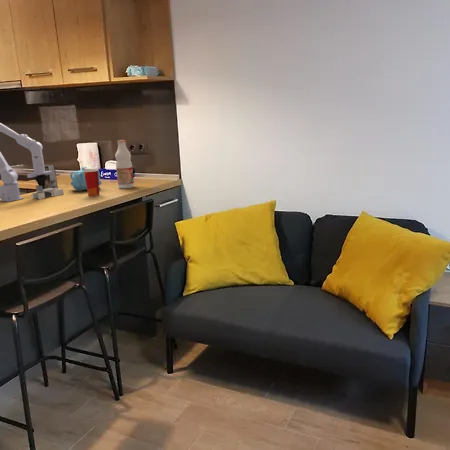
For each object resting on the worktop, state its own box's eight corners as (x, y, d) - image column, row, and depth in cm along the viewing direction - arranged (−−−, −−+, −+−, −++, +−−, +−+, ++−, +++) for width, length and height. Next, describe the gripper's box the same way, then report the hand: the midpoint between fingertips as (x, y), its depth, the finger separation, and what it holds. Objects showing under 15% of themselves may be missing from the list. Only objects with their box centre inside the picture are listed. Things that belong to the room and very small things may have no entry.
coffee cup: (95, 193, 264) (92, 167, 260) (104, 194, 259) (101, 167, 255) (83, 195, 258) (79, 169, 254) (91, 197, 253) (88, 169, 249)
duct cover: (41, 192, 255) (41, 186, 254) (36, 191, 258) (35, 185, 257) (55, 189, 262) (54, 183, 261) (50, 189, 265) (49, 183, 264)
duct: (39, 199, 254) (38, 193, 253) (32, 198, 257) (32, 193, 256) (63, 194, 267) (63, 188, 266) (57, 193, 270) (56, 188, 269)
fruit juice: (116, 187, 281) (111, 140, 274) (130, 185, 286) (126, 139, 279) (121, 189, 273) (116, 141, 266) (136, 187, 278) (132, 139, 271)
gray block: (45, 198, 258) (44, 193, 258) (41, 197, 261) (41, 193, 260) (51, 196, 261) (51, 192, 261) (48, 196, 264) (47, 192, 263)
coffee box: (58, 191, 277) (55, 164, 273) (52, 193, 271) (48, 166, 267) (45, 191, 280) (42, 164, 276) (39, 193, 274) (34, 166, 270)
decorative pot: (103, 189, 275) (101, 166, 272) (76, 193, 268) (73, 169, 265) (97, 186, 289) (94, 164, 286) (70, 189, 282) (67, 167, 279)
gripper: (31, 166, 247) (35, 191, 250) (54, 162, 258) (57, 187, 262) (23, 166, 251) (27, 190, 254) (46, 162, 262) (49, 186, 265)
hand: (42, 188), depth 258 cm, fingers closed
